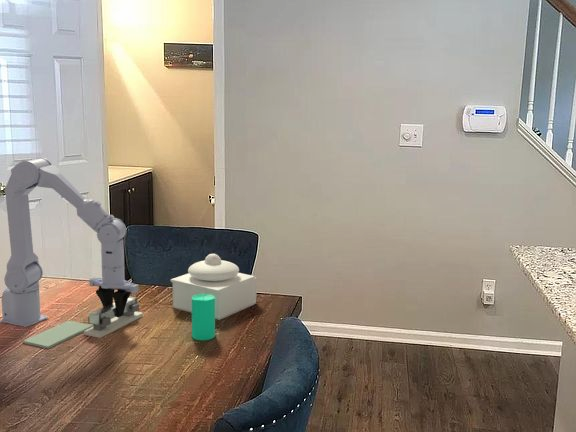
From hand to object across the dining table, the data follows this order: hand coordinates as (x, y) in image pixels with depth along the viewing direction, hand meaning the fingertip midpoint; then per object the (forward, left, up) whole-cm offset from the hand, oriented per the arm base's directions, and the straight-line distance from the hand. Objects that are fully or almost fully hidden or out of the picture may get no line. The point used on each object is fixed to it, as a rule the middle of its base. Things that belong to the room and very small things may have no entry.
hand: (114, 315), depth 169 cm
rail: (0, 0, 0) cm, 0 cm away
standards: (0, 0, -3) cm, 3 cm away
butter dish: (+16, +26, -3) cm, 30 cm away
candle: (+25, +4, -3) cm, 25 cm away
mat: (-8, -12, -3) cm, 15 cm away
